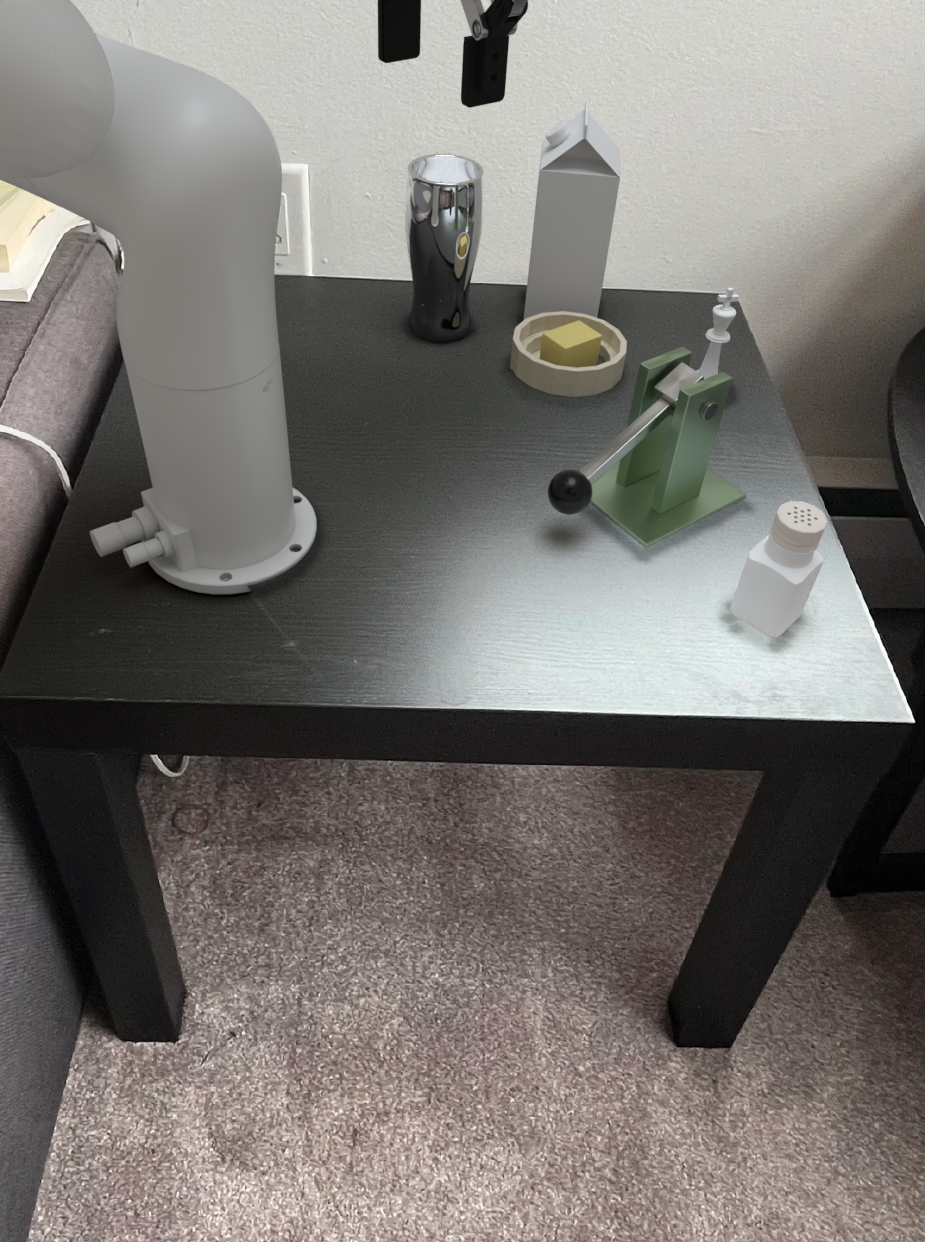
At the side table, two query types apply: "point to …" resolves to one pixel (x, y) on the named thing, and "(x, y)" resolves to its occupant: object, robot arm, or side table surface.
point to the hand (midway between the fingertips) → (439, 80)
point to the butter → (571, 345)
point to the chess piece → (718, 333)
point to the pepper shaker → (781, 570)
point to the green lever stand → (669, 459)
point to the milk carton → (572, 217)
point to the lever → (619, 445)
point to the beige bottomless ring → (565, 377)
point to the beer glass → (442, 242)
